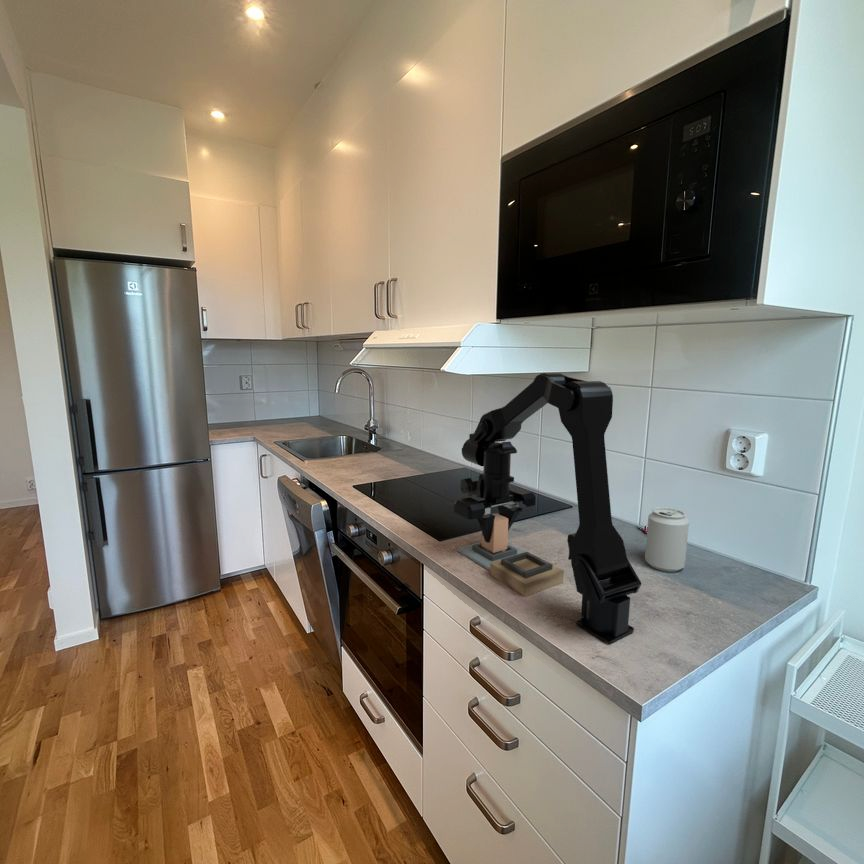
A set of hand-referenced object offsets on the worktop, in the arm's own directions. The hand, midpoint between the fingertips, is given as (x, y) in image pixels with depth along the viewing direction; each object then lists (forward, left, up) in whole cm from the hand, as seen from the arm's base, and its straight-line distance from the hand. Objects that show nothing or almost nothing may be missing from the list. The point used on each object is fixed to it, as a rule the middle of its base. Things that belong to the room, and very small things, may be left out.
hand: (494, 540), depth 100 cm
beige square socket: (-12, +2, -3) cm, 13 cm away
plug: (0, 0, -2) cm, 2 cm away
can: (-23, -27, -4) cm, 36 cm away
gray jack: (0, 0, -3) cm, 3 cm away
